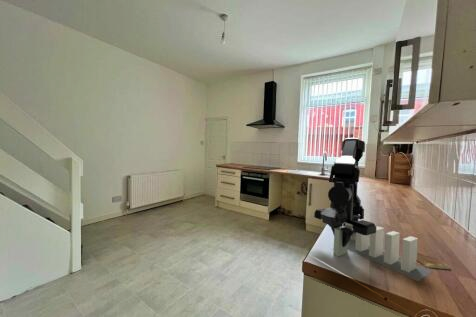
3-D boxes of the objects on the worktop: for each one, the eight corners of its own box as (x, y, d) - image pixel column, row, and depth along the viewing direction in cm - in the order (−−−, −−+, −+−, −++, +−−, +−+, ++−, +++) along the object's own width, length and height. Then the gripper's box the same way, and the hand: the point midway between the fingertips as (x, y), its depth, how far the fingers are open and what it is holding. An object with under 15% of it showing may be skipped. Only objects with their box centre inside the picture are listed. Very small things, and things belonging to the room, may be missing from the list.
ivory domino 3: (391, 258, 66) (393, 230, 66) (398, 260, 64) (399, 232, 64) (383, 261, 63) (385, 233, 63) (390, 264, 62) (392, 235, 62)
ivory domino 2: (376, 252, 70) (378, 226, 70) (382, 254, 68) (384, 228, 68) (368, 255, 67) (370, 228, 67) (374, 257, 66) (376, 230, 66)
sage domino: (342, 251, 70) (343, 226, 70) (347, 254, 69) (348, 227, 68) (333, 254, 68) (334, 228, 68) (338, 257, 66) (339, 230, 66)
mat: (350, 239, 81) (350, 238, 81) (433, 272, 59) (433, 271, 59) (334, 244, 76) (334, 243, 76) (418, 282, 54) (418, 281, 54)
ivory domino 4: (408, 265, 62) (410, 236, 62) (416, 268, 60) (417, 238, 60) (400, 269, 60) (402, 239, 59) (408, 272, 58) (410, 241, 58)
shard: (401, 252, 72) (401, 247, 72) (425, 254, 71) (425, 249, 71) (425, 270, 61) (425, 264, 61) (454, 272, 60) (454, 266, 60)
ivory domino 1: (363, 246, 74) (364, 222, 74) (368, 248, 72) (369, 223, 72) (355, 249, 71) (356, 224, 71) (360, 251, 70) (361, 225, 69)
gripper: (304, 195, 72) (302, 239, 72) (356, 209, 56) (354, 265, 56) (325, 193, 77) (323, 233, 78) (378, 205, 61) (375, 256, 61)
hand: (340, 245), depth 68 cm, fingers closed on sage domino, 2 cm apart
